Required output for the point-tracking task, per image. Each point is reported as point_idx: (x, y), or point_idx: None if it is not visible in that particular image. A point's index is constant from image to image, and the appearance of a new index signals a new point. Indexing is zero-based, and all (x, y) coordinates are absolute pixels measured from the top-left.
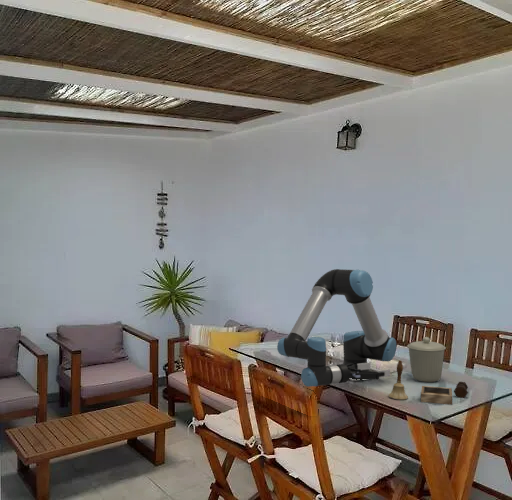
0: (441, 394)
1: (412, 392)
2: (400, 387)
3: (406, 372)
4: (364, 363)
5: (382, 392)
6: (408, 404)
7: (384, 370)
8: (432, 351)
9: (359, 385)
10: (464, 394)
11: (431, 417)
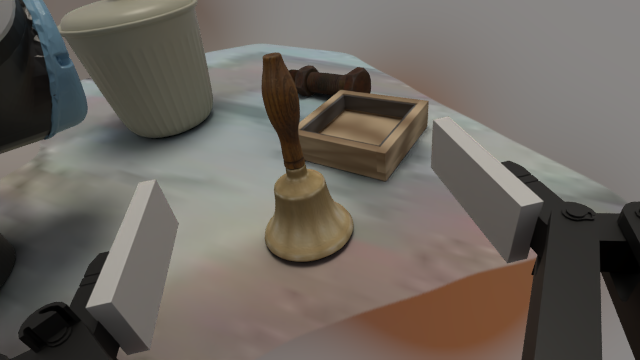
0: (342, 122)
1: (267, 175)
2: (326, 187)
3: (79, 140)
4: (137, 224)
5: (210, 265)
6: (415, 225)
7: (479, 146)
8: (188, 10)
9: None
10: (368, 89)
11: (608, 204)
